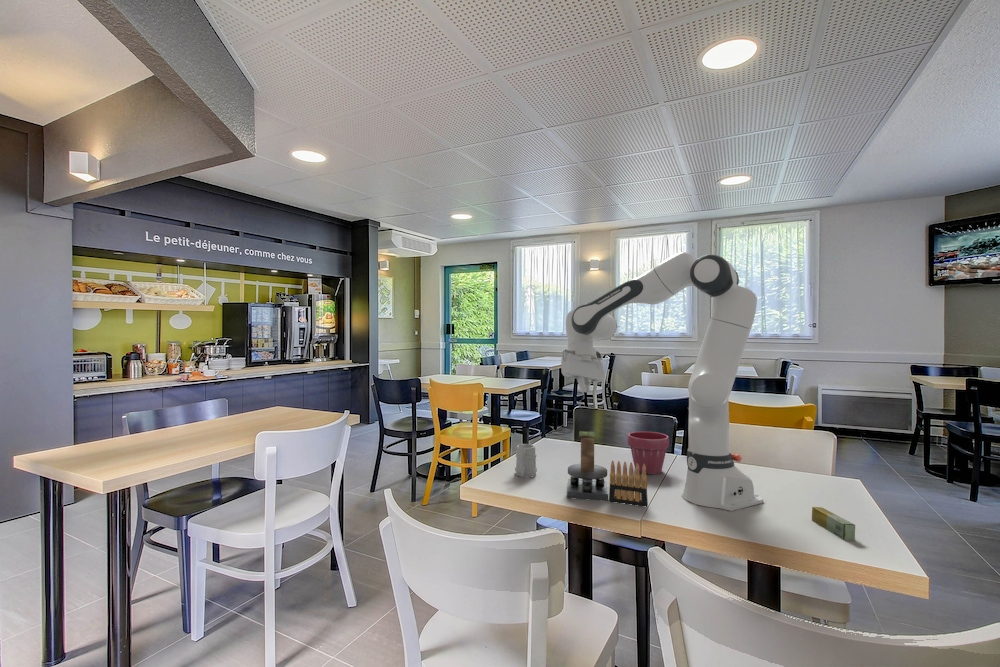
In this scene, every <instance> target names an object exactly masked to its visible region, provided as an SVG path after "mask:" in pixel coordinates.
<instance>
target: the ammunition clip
mask: <svg viewBox="0 0 1000 667" xmlns="http://www.w3.org/2000/svg"><path fill="white" fill-rule="evenodd" d="M610 463H611V464H610V473H609V490H608V502H609V501H610V502H609V503H613V502H617V503H616V504H621V503H625V504H624V505H628V504H632V505H631V506H635V505H638V506H637V507H642V506H646V507H645V508H647V507H648V504H649V503H648V502H649V501H648V477H647V474H646V466H645V464H643V467H642V473H641V472H640V468H639V464H638V463H637V465H636V470H635V473H634V464H633V463H632V462H631V461H630V463H629V466H627V462H626V461H624V462H623V466H621V461H619V460H618V462H617V464H616V467H615V461H614V460H611V462H610ZM628 467H629V468H628Z"/></svg>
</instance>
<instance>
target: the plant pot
mask: <svg viewBox="0 0 1000 667" xmlns="http://www.w3.org/2000/svg"><path fill="white" fill-rule="evenodd" d="M627 444H628V446H630V451H631V455H632V456H631V457H632V461H633V467H634V470H635V471H636V465H637V463H638V464H639V468H640V473H641V472H642V467H643V464H645V466H646V473H648V475H657V473H658V474H661V473H662V472H663V471H662V470H663V468H664V467H663V466H664V462H665V458H666V457H665V456H666V453H667V452H666V451H667V449H668V448H670V439H669V436H668V435H667V434H665V433H661V432H658V431H657V432H655V431H632V432H629V433H628V434H627Z"/></svg>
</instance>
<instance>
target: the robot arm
mask: <svg viewBox="0 0 1000 667" xmlns="http://www.w3.org/2000/svg"><path fill="white" fill-rule="evenodd" d="M739 282H740V279H739V275H738V272H737V271H736V269H735V268H734V266H733V265H732V264H731V263H730V261H727V260H726V259H725V258H724V257H722V256H720V255H717V254H705V255H702V256H700V257H699V258H696V257H695V256H694V255H692V254H691V253H689V252H686V251H681V252H678V253H675V254H673V255H672V256H669V257H668V258H666V259H664V260H663V261H661V262H659V263H658V264H657V265H655V266H653V267H651V269H649V270H648V271H646V272H644V273H642V274H641V275H639V276H637V277H635V278H633V279H630V280H627V281H625V282H623V283H622V284H619V285H618V286H615V287H614V288H613V289H611V290H610V291H607V292H606V293H605V294H603V295H601V296H599V297H598V298H596V299H594V300H592V301H589V302H586V303H584V302H583V303H582V304H579V305H578V306H577V307H576V308H574V309H572V310H570V311H569V312H568V313H567V315H566V318H565V330H566V331H565V333H566V337H567V341H568V342H567V348H566V349H564V350H563V351H562V353H561V360H560V361H561V362H560V366H561V367H560V368H561V374H562V376H563V377H566V378H571V379H576V381H577V383H578V385H579V387H580V392H582V393H587V394H588V393H590V392H591V389H590V386H591V384H592V383H596V384H597V383H602V382H604V380H605V369H604V363H603V362H602V360H603V355H602V353H600V352H599V351H598V350H597V349H596V348H595V347H594V344H593V343H594V341H596V342H597V341H606V340H609V339H611V338H612V337H613V336H614V335H615V333H616V331H617V327H618V324H617V320H616V318H615V317H614V316H612V315H611V314H612V313H613V312H615V311H616V310H618V309H620V308H622V307H624V306H626V305H629V304H644V305H645V304H646V305H658V304H661V303H663V302H665V301H667V300H670V299H671V298H673V296H676V294H678V293H679V292H681V291H682V290H684V289H686V288H688V287H695V288H697V289H698V290H699V291H700V292H701V293H703V294H704V295H706V296H709V297H711V298H713V300H714V306H713V309H712V310H713V311H712V312H711V316H710V319H709V322H708V325H707V327H706V331H705V334H704V337H703V338H702V343H701V346H700V349H699V352H698V355H697V358H696V361H695V364H694V367H693V370H692V373H691V376H690V378H689V382H688V386H687V388H688V389H687V390H688V448H687V450H686V465H687V472H686V478H685V485H684V488H683V492H682V496H681V497H682V498H684V499H685V500H687V501H688V502H690V503H693V504H695V505H700V506H703V507H708V508H715V509H721V510H726V511H736V510H741V509H744V508H748V507H752V506H754V505H755V506H756V505H759V504H762V503H764V498H763V497H762V496H760V495H759V494H757V493H756V492H755V490H754V488H755V487H754V483H753V480H752V479H751V478H750V477H749V475H747V474H745V473H744V472H743V471H742V470H740V469H739V468H738V467H737V466H736V465H735V462H737V463H739V462H741V461H742V456H741V455H740V454H736V453H733V454H732V453H731V452H730V412H729V411H730V410H729V409H730V408H729V407H730V406H729V405H730V403H729V401H730V400H729V398H730V395H731V393H732V389H733V385H734V383H735V380H736V376H737V374H738V370H739V366H740V363H741V361H742V360H741V359H742V356H743V353H744V350H745V347H746V344H747V341H748V339H749V335H750V333H751V330H752V327H753V324H754V320H755V316H756V311H757V305H758V304H757V303H758V297H757V294H756V293H754V292H753V291H752V290H751V289H749V288H747V287H744V286H740V285H739V284H740V283H739ZM734 461H735V462H734Z"/></svg>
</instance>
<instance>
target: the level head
mask: <svg viewBox="0 0 1000 667" xmlns="http://www.w3.org/2000/svg"><path fill="white" fill-rule="evenodd" d="M578 434H579V437H580V463H574V464H571V465H569V466H568V467H567V475H569V476H570V477H571V476H573V477H576V478H579V480H582V479H590V480H593V481H595V480H596V479H602V478H604V479H605V478H606V477H607V476H608V469H607V468H606V467H604V466H601V465H598V464H595V438H597V433H596V431H584V430H583V431H580V430H579V432H578Z"/></svg>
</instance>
